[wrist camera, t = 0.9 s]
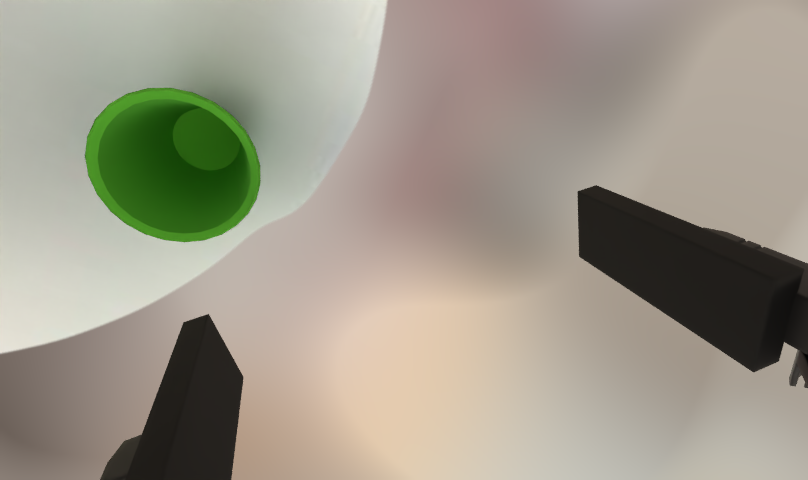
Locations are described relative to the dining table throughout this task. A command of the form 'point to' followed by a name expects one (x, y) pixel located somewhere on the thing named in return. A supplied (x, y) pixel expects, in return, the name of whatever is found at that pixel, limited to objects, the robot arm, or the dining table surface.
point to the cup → (172, 164)
